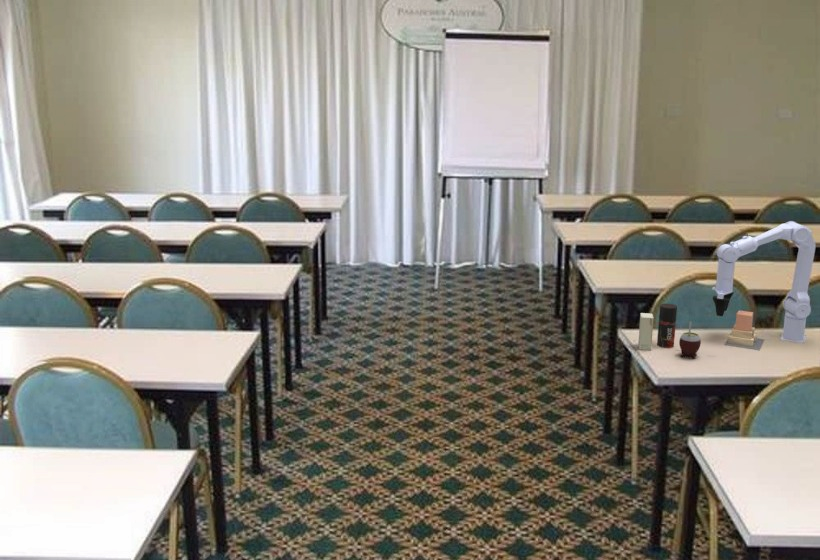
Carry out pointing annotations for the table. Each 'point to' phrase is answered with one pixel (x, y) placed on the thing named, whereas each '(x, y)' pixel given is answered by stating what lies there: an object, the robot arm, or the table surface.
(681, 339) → the mate gourd
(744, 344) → the oak slab base
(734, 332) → the oak slab top
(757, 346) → the mat
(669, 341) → the deodorant
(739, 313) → the terracotta block
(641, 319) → the skincare box
